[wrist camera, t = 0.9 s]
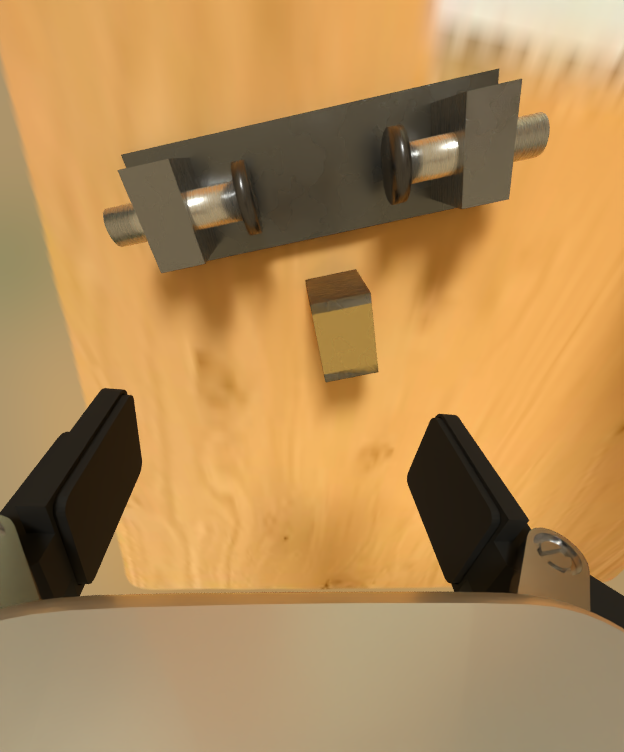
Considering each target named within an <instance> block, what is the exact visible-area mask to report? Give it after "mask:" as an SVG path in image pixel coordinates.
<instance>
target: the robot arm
mask: <svg viewBox="0 0 624 752" xmlns="http://www.w3.org/2000/svg"><path fill="white" fill-rule="evenodd" d="M141 467H142V457H141V450H140V442H139V435H138V427H137V420H136V412H135V405H134V398H133V396H132V395H127V392H126V390H121V389H108V388H104V389H102V390H101V391H100V392H99V393H98V395H97V396H96V397H95V399H94V400H93V401H92V403H91V404H90V405H89V407H88V408H87V409H86V411H85V412H84V413H83V415H82V416H81V417H80V419H79V420H78V421H77V423H76V424H75V426H74V427H73V428H72V429H71V431H70V432H65V433H62V434H61V435H60V436H59V438H57V440H56V441H55V442H54V444H53V445H52V446H51V448H50V449H49V450H48V451H47V453H46V454H45V455H44V457H43V458H42V459H41V460H40V462H39V463H38V464H37V466H36V467H35V468H34V470H33V471H32V472H31V473H30V475H29V476H28V477H27V479H26V480H25V481H24V483H23V484H22V485H21V486H20V488H19V489H18V490H17V491H16V493H15V494H14V495H13V497H12V498H11V499H10V500H9V502H8V503H7V504H6V506H5V507H4V508H3V509H2V511H1V512H0V752H624V596H623V595H621V594H619V593H618V592H616V591H615V590H613V589H612V588H610V587H608V586H607V585H605V584H604V583H602V582H600V581H599V580H597V579H596V578H594V577H592V576H591V575H590V571H589V566H588V563H587V561H586V559H585V557H584V556H583V554H582V553H581V552H580V551H579V549H578V548H577V547H576V546H575V545H574V544H573V543H571V542H570V541H569V540H568V539H566V538H565V537H563V536H562V535H560V534H559V533H556V532H554V531H552V530H549V529H545V528H534V529H532V530H531V529H530V527H529V526H528V524H527V523H528V521H529V519H528V518H527V516H526V515H525V513H524V512H523V510H522V509H521V507H520V506H519V505H518V503H517V502H516V500H515V499H514V497H513V496H512V494H511V493H510V491H509V490H508V489H507V487H506V486H505V484H504V483H503V481H502V480H501V478H500V477H499V475H498V474H497V473H496V471H495V470H494V468H493V467H492V465H491V464H490V462H489V461H488V460H487V458H486V457H485V455H484V454H483V452H482V451H481V449H480V448H479V446H478V445H477V444H476V442H475V441H474V439H473V438H472V436H471V435H470V433H469V432H468V430H467V429H466V428H465V426H464V425H463V423H462V422H461V420H460V419H459V417H458V416H456V415H448V414H438V415H437V416H436V417H435V418H432V419H431V420H430V422H429V425H428V427H427V429H426V432H425V434H424V437H423V439H422V441H421V444H420V446H419V448H418V451H417V453H416V455H415V458H414V460H413V463H412V465H411V467H410V470H409V472H408V475H407V483H408V486H409V489H410V491H411V494H412V496H413V499H414V501H415V504H416V506H417V509H418V511H419V514H420V516H421V519H422V521H423V524H424V527H425V529H426V532H427V534H428V537H429V539H430V542H431V544H432V547H433V549H434V552H435V554H436V557H437V559H438V562H439V565H440V567H441V570H442V572H443V575H444V577H445V579H446V581H447V582H448V583H451V584H452V587H453V589H454V592H270V593H269V592H268V593H267V592H260V593H258V592H256V593H255V592H254V593H169V594H129V595H94V596H93V595H92V596H80V594H81V592H82V590H83V587H84V585H85V584H90V583H92V581H93V580H94V578H95V576H96V574H97V572H98V569H99V567H100V565H101V562H102V560H103V557H104V555H105V553H106V551H107V548H108V546H109V544H110V541H111V539H112V537H113V534H114V532H115V530H116V528H117V525H118V523H119V521H120V518H121V516H122V514H123V511H124V509H125V507H126V504H127V502H128V500H129V497H130V495H131V493H132V490H133V488H134V486H135V483H136V481H137V479H138V477H139V474H140V472H141Z"/></svg>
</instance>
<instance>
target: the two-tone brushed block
mask: <svg viewBox="0 0 624 752" xmlns="http://www.w3.org/2000/svg"><path fill="white" fill-rule="evenodd" d="M306 285H307V291H308V296H309V302H310V307H311V312H312V317H313V322H314V327H315V332H316V337H317V342H318V347H319V352H320V357H321V362H322V367H323V372H324V377H325V382H330V381H335V380H340V379H345V378H350V377H355V376H360V375H365V374H370V373H376V372H378V363H377V353H376V343H375V333H374V323H373V313H372V302H371V293H370V291H369V289H368V288H367V286H366V285H365V283H364V281H363V280H362V278H361V277H360V275H359V274H358V272H357V270H351V271H346V272H341V273H337V274H332V275H327V276H322V277H317V278H313V279H308V280H306Z"/></svg>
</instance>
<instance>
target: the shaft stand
mask: <svg viewBox="0 0 624 752" xmlns="http://www.w3.org/2000/svg"><path fill="white" fill-rule="evenodd" d="M498 77H499V69H495V70H491V71H486V72H482V73H478V74H473V75H469V76H465V77H460V78H456V79H451V80H447V81H443V82H438V83H434V84H429V85H425V86H421V87H416V88H412V89H408V90H403V91H399V92H394V93H390V94H386V95H381V96H377V97H372V98H368V99H364V100H359V101H355V102H351V103H346V104H342V105H337V106H333V107H329V108H324V109H320V110H315V111H311V112H307V113H302V114H298V115H294V116H289V117H285V118H280V119H276V120H272V121H267V122H263V123H259V124H254V125H250V126H245V127H241V128H237V129H232V130H228V131H223V132H219V133H215V134H210V135H206V136H202V137H197V138H193V139H188V140H184V141H180V142H175V143H171V144H166V145H162V146H158V147H153V148H149V149H145V150H140V151H136V152H131V153H127V154H123V155H121V156H122V158H123V161H124V163H125V166H126V168H125V169H121V170H118V172H119V175H120V177H121V180H122V182H123V184H124V187H125V189H126V191H127V194H128V196H129V198H130V201H131V203H130V204H125V205H121V206H116V207H112V208H107V209H105V210H104V213H103V218H104V223H105V226H106V229H107V231H108V233H109V235H110V237H111V238H112V240H113V241H114V242H115V243H116V244H117V245H118V246H120V247H124V246H129V245H134V244H138V243H143V242H147V241H148V243H149V245H150V248H151V250H152V252H153V255H154V257H155V260H156V262H157V264H158V267H159V269H160V271H161V273H164V272H169V271H174V270H179V269H183V268H188V267H193V266H197V265H202V264H205V263H206V262H207V261H209V260H214V259H219V258H223V257H228V256H233V255H237V254H242V253H247V252H251V251H256V250H261V249H265V248H270V247H275V246H280V245H284V244H289V243H294V242H298V241H303V240H308V239H312V238H317V237H322V236H326V235H331V234H336V233H341V232H345V231H350V230H355V229H359V228H364V227H369V226H373V225H378V224H383V223H387V222H392V221H397V220H401V219H406V218H411V217H416V216H420V215H425V214H430V213H434V212H439V211H444V210H448V209H453V208H460V209H465V208H470V207H474V206H479V205H484V204H488V203H493V202H498V201H502V200H507V199H509V194H510V185H511V176H512V167H513V162H516V161H520V160H525V159H530V158H534V157H537V156H539V155H540V154H541V153H542V152H543V150H544V149H545V147H546V144H547V141H548V137H549V120H548V118H547V116H546V114H544V113H542V112H540V113H535V114H531V115H526V116H522V117H518V112H519V103H520V94H521V84H522V79H519V80H514V81H510V82H505V83H501V84H498Z"/></svg>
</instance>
